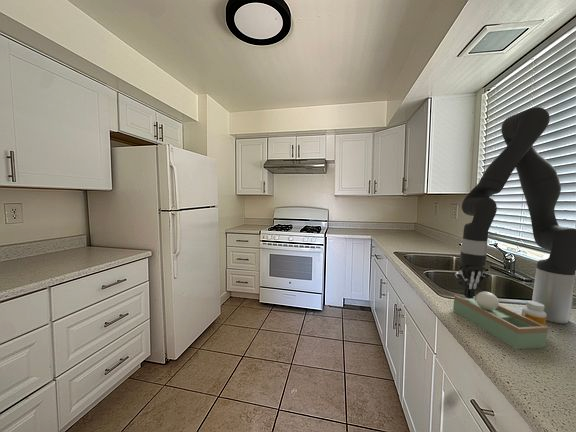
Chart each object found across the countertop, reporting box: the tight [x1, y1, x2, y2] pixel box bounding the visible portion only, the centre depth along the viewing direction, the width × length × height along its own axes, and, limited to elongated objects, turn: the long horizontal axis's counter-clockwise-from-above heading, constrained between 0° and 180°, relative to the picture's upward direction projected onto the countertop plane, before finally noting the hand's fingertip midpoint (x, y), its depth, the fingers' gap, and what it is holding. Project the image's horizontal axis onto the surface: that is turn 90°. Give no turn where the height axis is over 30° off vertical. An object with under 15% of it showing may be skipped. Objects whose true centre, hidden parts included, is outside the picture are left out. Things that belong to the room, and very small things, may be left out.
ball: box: [476, 291, 500, 310], centre depth 81 cm, size 6×6×6 cm
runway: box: [452, 294, 549, 350], centre depth 78 cm, size 10×22×6 cm, turn 8°
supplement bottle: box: [521, 300, 547, 326], centre depth 76 cm, size 5×5×10 cm
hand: (468, 297), depth 88 cm, fingers closed
